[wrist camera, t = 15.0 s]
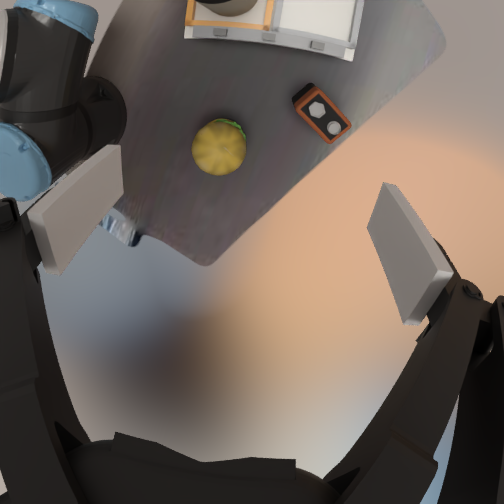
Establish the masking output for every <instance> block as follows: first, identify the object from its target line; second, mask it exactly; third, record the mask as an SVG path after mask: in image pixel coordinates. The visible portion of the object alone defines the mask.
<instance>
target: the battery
mask: <svg viewBox="0 0 504 504" xmlns="http://www.w3.org/2000/svg"><path fill="white" fill-rule="evenodd" d="M292 102H293V105H294V107H295V110H296V112H297V113H298V114H299V115H300V116H301V117H302V118H303V119H304V120H305V121H306V122H307V123H308V124H309V125H310V126H311V127H312V128H313V129H314V130H315V131H316V132H317V133H318V134H319V135H320V136H321V137H322V139H323V140H324V141H325V142H326V143H328V144H331V143H333V142H334V141H335V140H336V139H337V138H339V137H340V136H341V135H342V134H344V133H345V132H346V131H347V130H348V129H350V128H351V123H350V121H349V120H348V119H347V118H346V117H345V116H344V114H343V113H342V112H341V111H340V110H339V109H338V108H337V107H336V106H335V104H334V103H333V102H332V101H331V100H330V99H329V98H328V97H327V96H326V95H325V94H324V93H323V92H322V91H321V90H320V89H319V88H318V87H316V86H315V85H314V84H313V83H309V84H307V85H306V86H305V87H304V88H303V89H302V90H301V91H299V92H298V93H297V94H296V95H295V96H294V97H293V98H292Z"/></svg>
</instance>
